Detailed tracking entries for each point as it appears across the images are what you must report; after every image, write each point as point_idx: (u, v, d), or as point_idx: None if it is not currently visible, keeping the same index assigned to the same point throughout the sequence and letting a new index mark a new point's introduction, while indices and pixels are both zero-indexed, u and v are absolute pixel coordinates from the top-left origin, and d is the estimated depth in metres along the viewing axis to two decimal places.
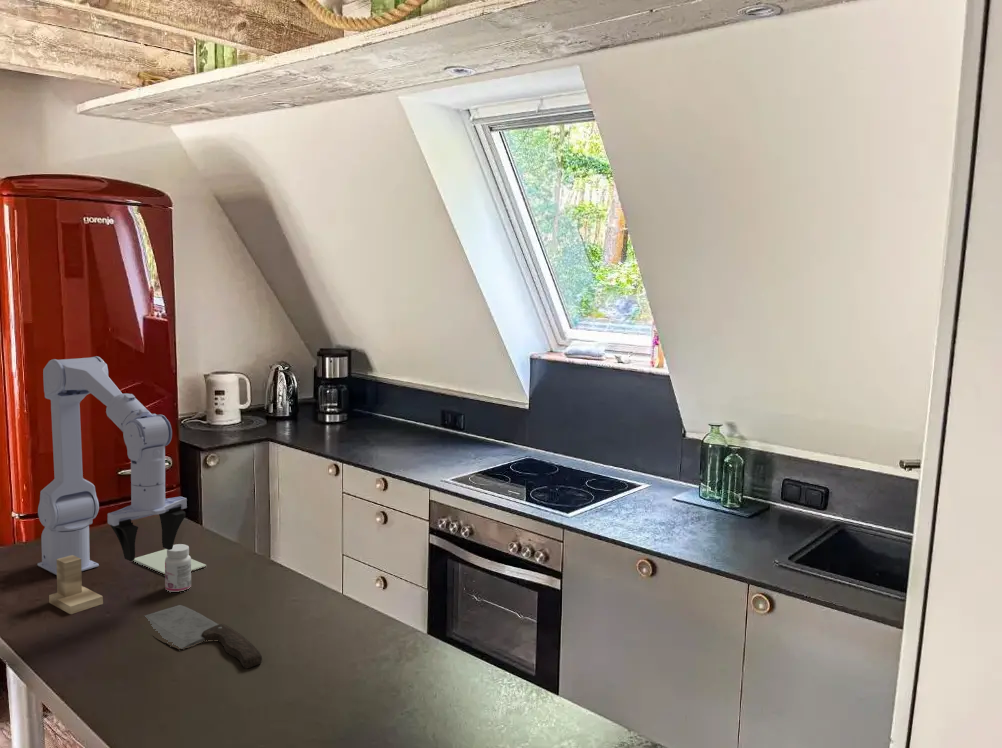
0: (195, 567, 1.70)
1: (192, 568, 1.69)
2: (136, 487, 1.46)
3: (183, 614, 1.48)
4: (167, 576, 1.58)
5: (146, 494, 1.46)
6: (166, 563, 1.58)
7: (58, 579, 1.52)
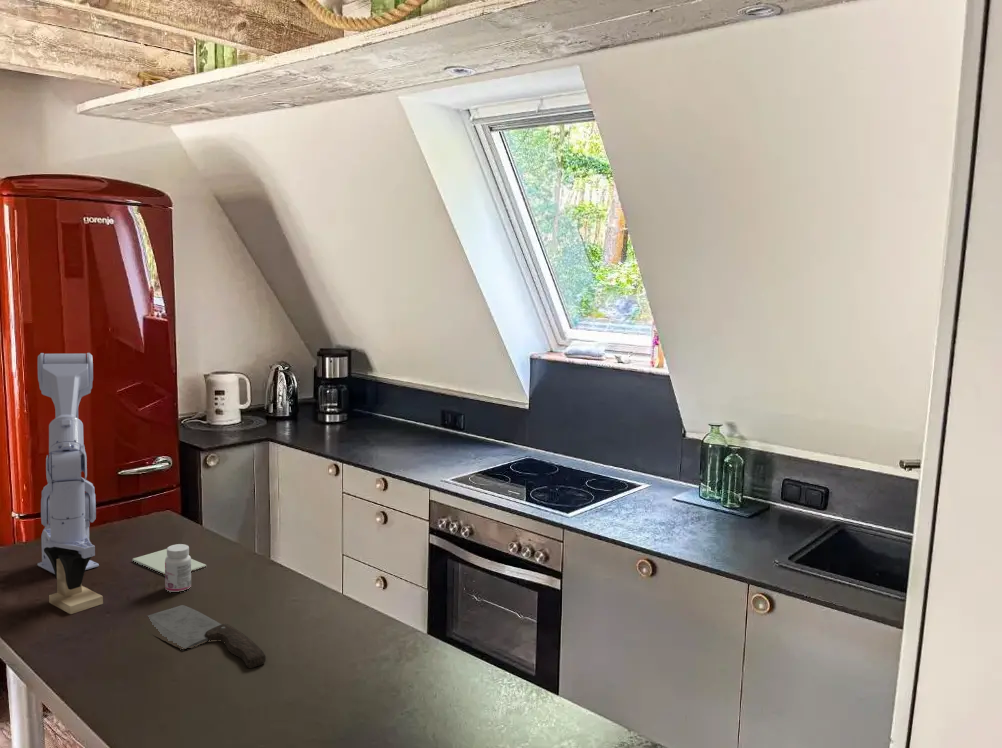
0: (195, 567, 1.70)
1: (192, 568, 1.69)
2: None
3: (186, 614, 1.48)
4: (167, 576, 1.58)
5: None
6: (166, 563, 1.58)
7: (58, 579, 1.52)
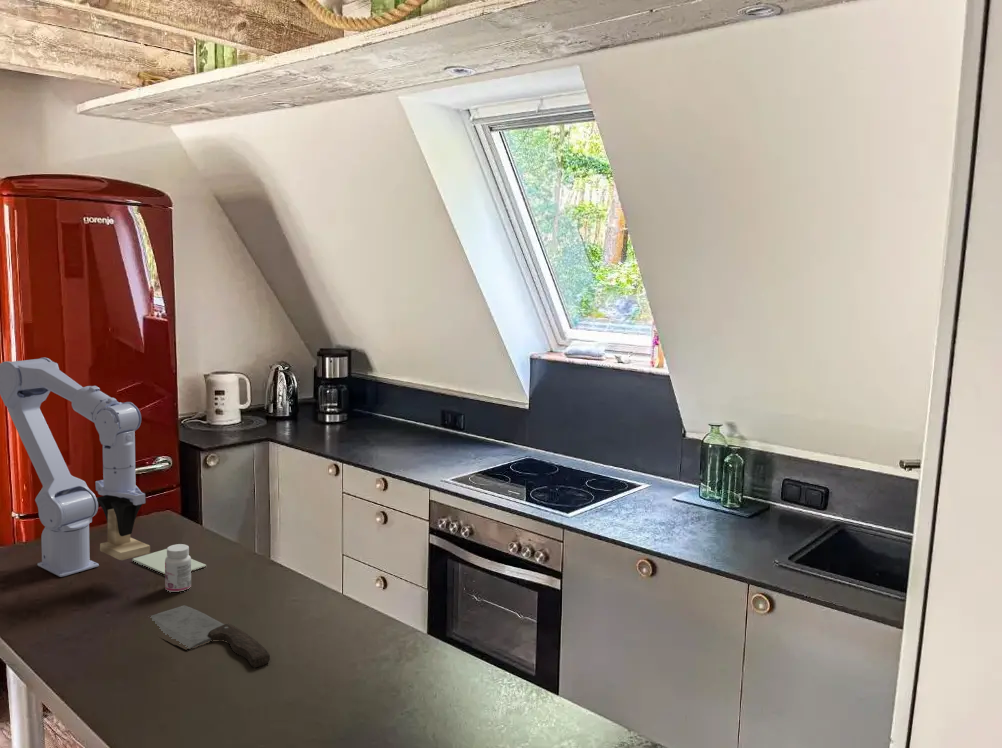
0: (195, 567, 1.70)
1: (192, 568, 1.69)
2: None
3: (188, 614, 1.48)
4: (167, 576, 1.58)
5: None
6: (166, 563, 1.58)
7: (109, 529, 1.60)
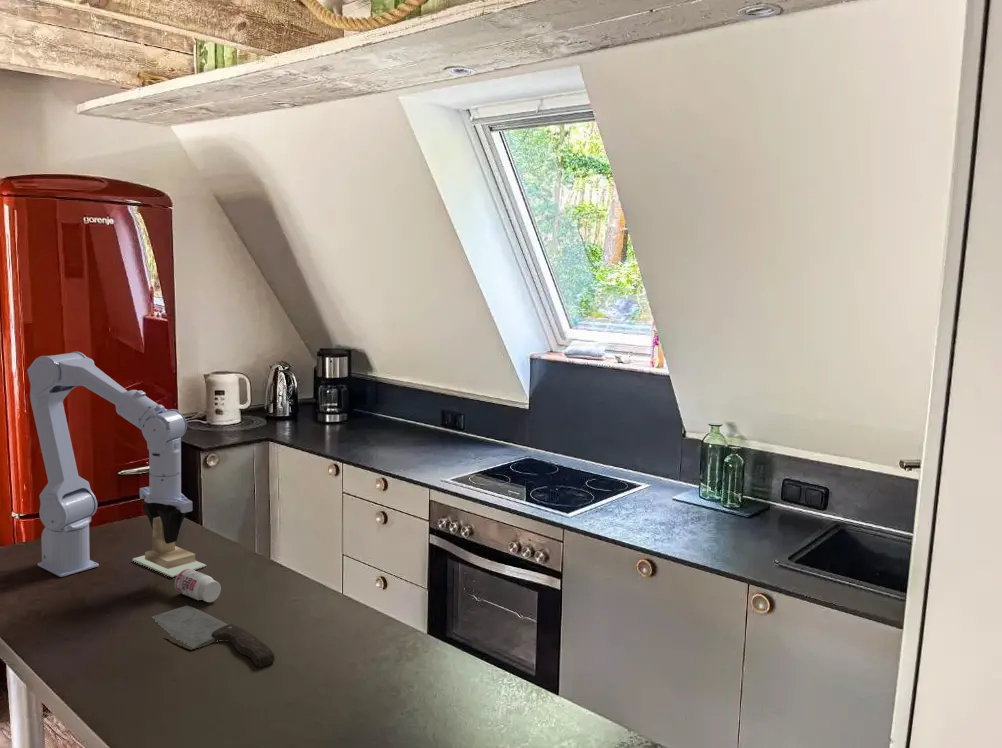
0: (195, 567, 1.70)
1: (192, 568, 1.69)
2: None
3: (191, 615, 1.48)
4: (184, 589, 1.55)
5: (149, 480, 1.59)
6: (192, 591, 1.54)
7: (154, 537, 1.60)
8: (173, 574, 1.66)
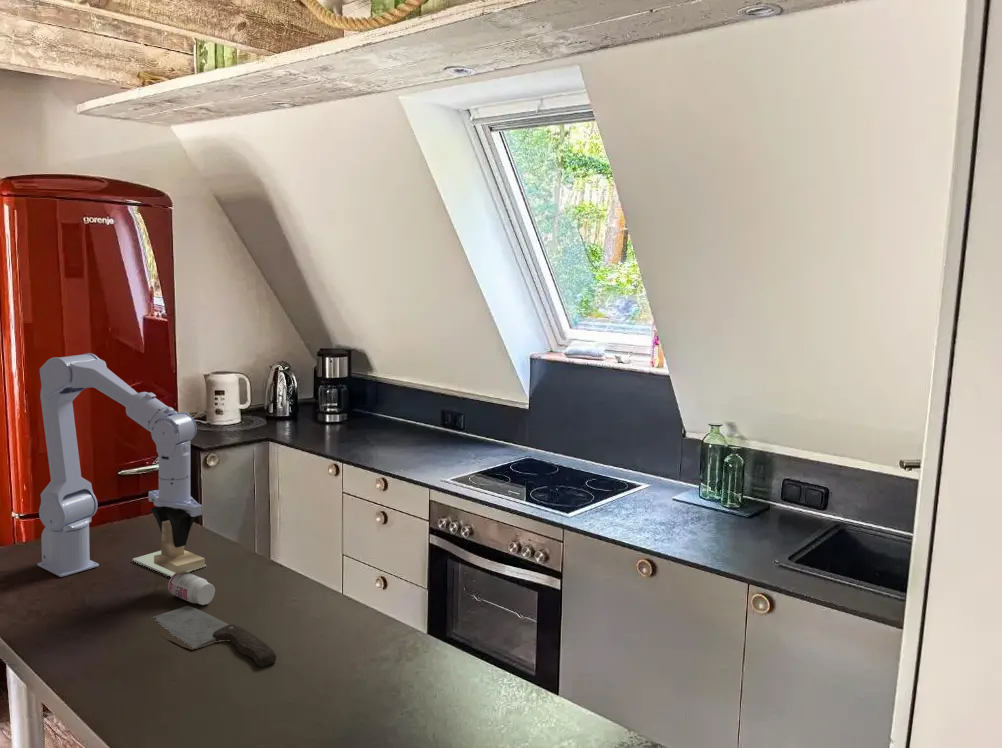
0: None
1: None
2: None
3: (192, 615, 1.48)
4: (180, 597, 1.54)
5: None
6: (188, 600, 1.53)
7: (163, 541, 1.59)
8: (173, 574, 1.66)
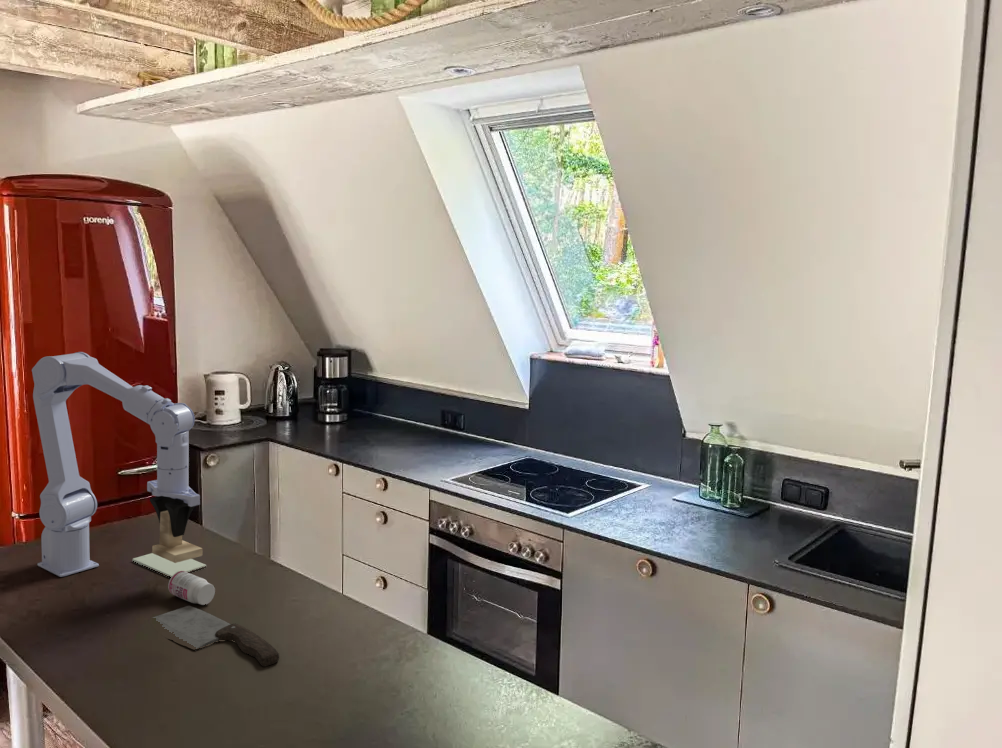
0: (195, 567, 1.70)
1: (192, 568, 1.69)
2: None
3: (193, 615, 1.48)
4: (180, 597, 1.54)
5: None
6: (188, 600, 1.53)
7: (161, 531, 1.60)
8: (173, 574, 1.66)
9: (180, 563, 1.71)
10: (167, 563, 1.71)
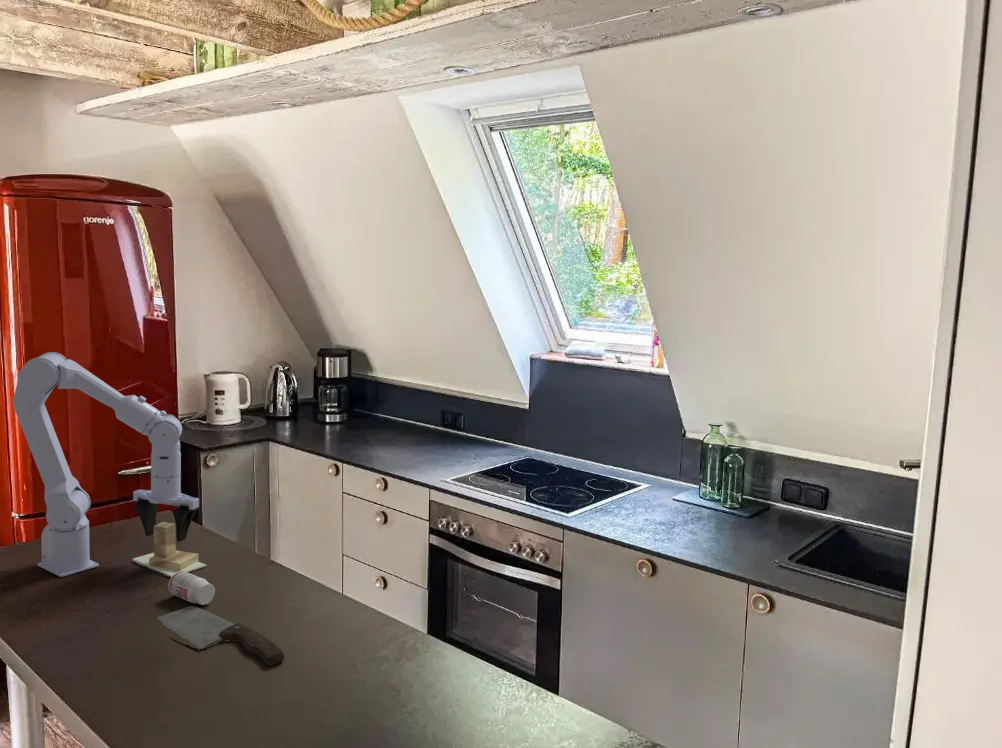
0: (195, 567, 1.70)
1: (192, 568, 1.69)
2: None
3: (196, 615, 1.48)
4: (180, 597, 1.54)
5: (151, 482, 1.68)
6: (188, 600, 1.53)
7: (156, 543, 1.70)
8: (173, 574, 1.66)
9: None
10: None
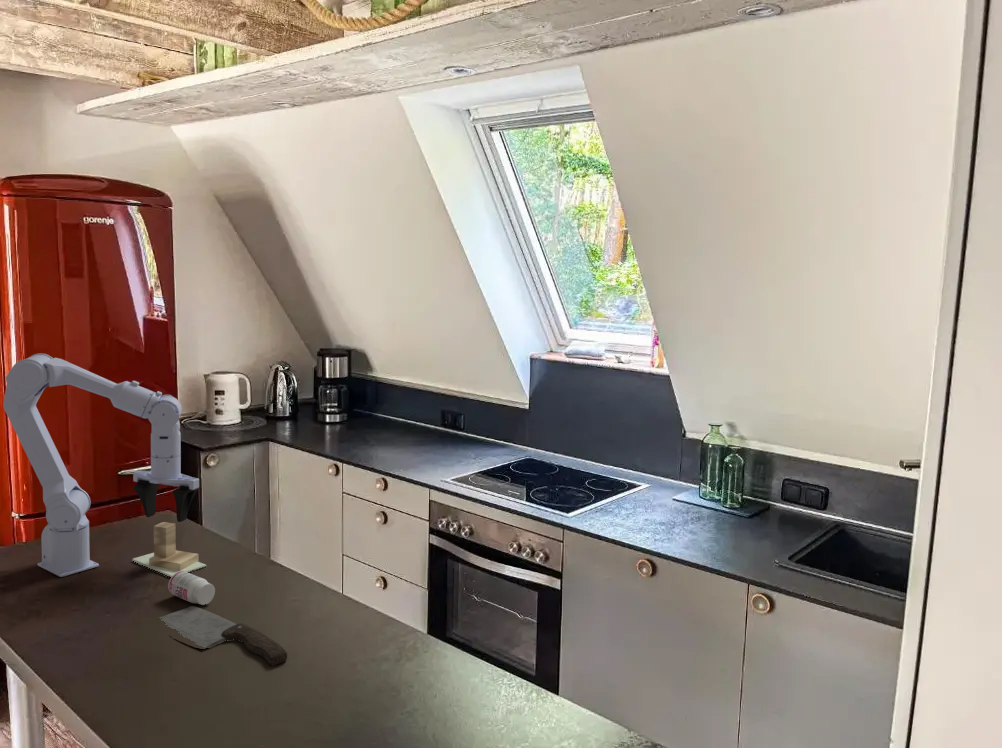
0: (195, 567, 1.70)
1: (192, 568, 1.69)
2: None
3: (198, 615, 1.48)
4: (180, 597, 1.54)
5: (151, 462, 1.68)
6: (188, 600, 1.53)
7: (156, 543, 1.70)
8: (173, 574, 1.66)
9: None
10: None
